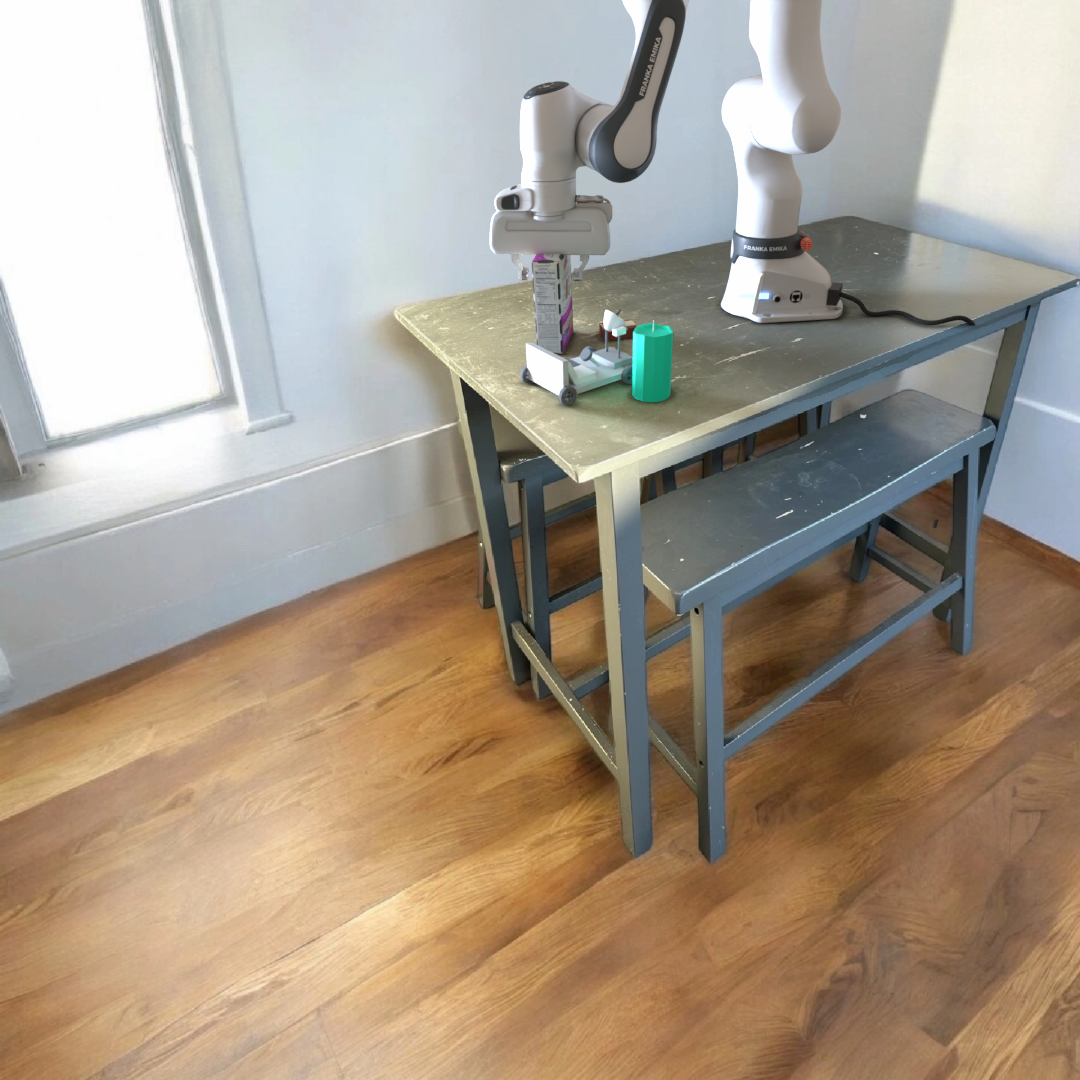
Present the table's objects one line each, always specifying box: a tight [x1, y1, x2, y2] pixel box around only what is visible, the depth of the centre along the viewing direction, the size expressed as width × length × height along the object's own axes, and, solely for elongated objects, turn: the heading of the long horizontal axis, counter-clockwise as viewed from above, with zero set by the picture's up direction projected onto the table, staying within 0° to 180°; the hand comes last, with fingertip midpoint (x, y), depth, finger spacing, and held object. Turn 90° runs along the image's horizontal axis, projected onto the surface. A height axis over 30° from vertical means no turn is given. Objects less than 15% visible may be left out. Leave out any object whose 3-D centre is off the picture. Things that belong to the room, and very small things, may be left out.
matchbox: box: [598, 319, 638, 342], centre depth 154 cm, size 6×4×2 cm, turn 102°
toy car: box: [519, 308, 633, 406], centre depth 136 cm, size 18×10×12 cm
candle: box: [631, 319, 674, 403], centre depth 130 cm, size 6×6×12 cm
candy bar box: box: [531, 254, 574, 355], centre depth 149 cm, size 11×5×16 cm, turn 168°
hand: (551, 279), depth 147 cm, fingers open, 8 cm apart
